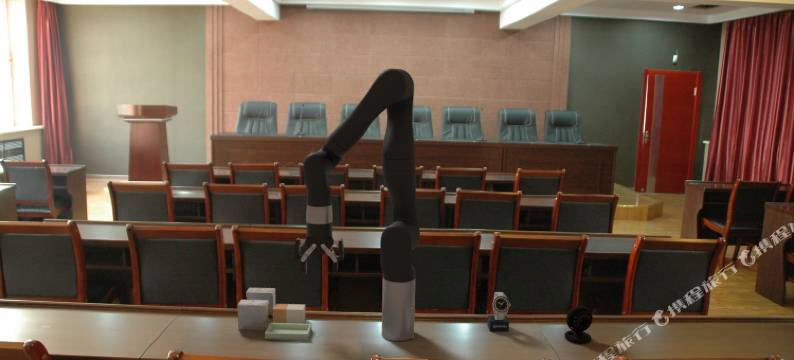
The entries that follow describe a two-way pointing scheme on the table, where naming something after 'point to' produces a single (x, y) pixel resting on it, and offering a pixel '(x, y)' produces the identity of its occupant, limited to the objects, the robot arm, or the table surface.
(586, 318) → the webcam
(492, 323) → the watch
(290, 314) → the two-tone eraser block
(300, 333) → the tray
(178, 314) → the table surface
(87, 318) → the table surface
